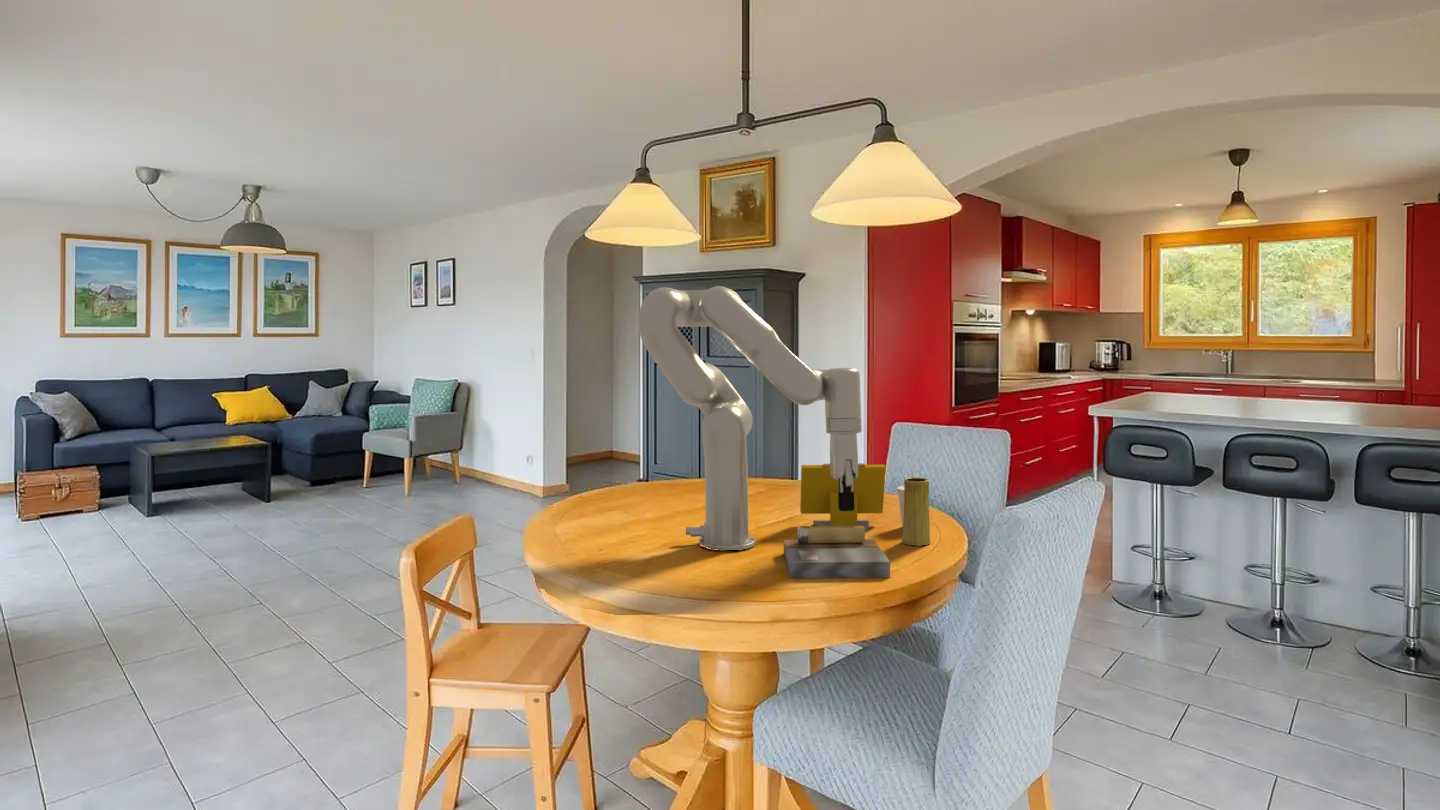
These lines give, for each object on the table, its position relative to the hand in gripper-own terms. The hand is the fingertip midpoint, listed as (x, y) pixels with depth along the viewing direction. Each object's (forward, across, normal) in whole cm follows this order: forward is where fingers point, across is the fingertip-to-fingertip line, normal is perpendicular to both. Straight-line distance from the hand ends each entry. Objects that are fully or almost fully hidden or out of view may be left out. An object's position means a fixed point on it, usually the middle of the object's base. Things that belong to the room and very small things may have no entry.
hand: (846, 510), depth 166 cm
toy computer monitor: (+9, -20, +2) cm, 22 cm away
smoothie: (+9, -19, +18) cm, 27 cm away
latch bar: (+5, +6, -4) cm, 9 cm away
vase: (+9, -5, +16) cm, 19 cm away
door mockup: (+8, +12, -5) cm, 16 cm away
